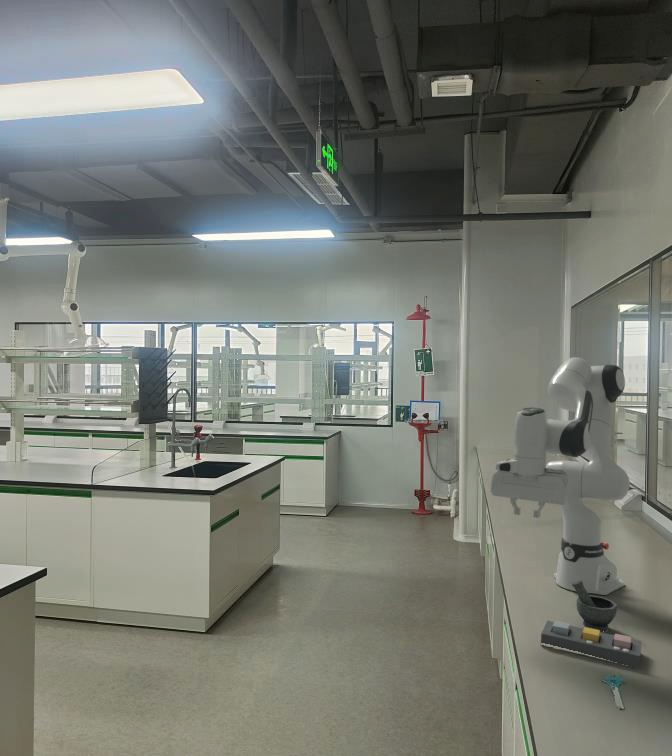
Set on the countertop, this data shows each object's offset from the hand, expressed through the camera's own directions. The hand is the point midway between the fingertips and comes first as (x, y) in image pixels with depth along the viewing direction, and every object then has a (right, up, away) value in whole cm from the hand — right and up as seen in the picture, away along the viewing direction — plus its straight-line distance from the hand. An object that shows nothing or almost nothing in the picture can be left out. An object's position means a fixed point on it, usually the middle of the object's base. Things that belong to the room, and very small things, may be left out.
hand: (526, 515), depth 175 cm
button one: (+9, -26, -21) cm, 35 cm away
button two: (+16, -26, -24) cm, 39 cm away
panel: (+9, -28, -21) cm, 36 cm away
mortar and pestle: (+15, -28, -8) cm, 33 cm away
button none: (+3, -26, -18) cm, 31 cm away
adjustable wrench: (+7, -29, -41) cm, 51 cm away
